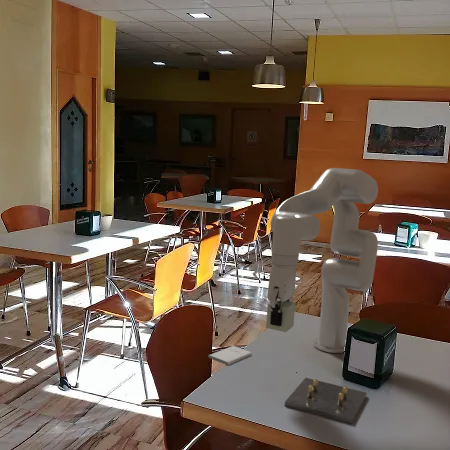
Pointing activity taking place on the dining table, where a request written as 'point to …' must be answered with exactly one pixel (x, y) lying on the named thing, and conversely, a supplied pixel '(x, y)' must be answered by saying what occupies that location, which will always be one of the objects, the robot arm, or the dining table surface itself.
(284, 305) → the beige block
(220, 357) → the external hard drive
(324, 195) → the robot arm
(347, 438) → the dining table surface
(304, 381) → the plate
